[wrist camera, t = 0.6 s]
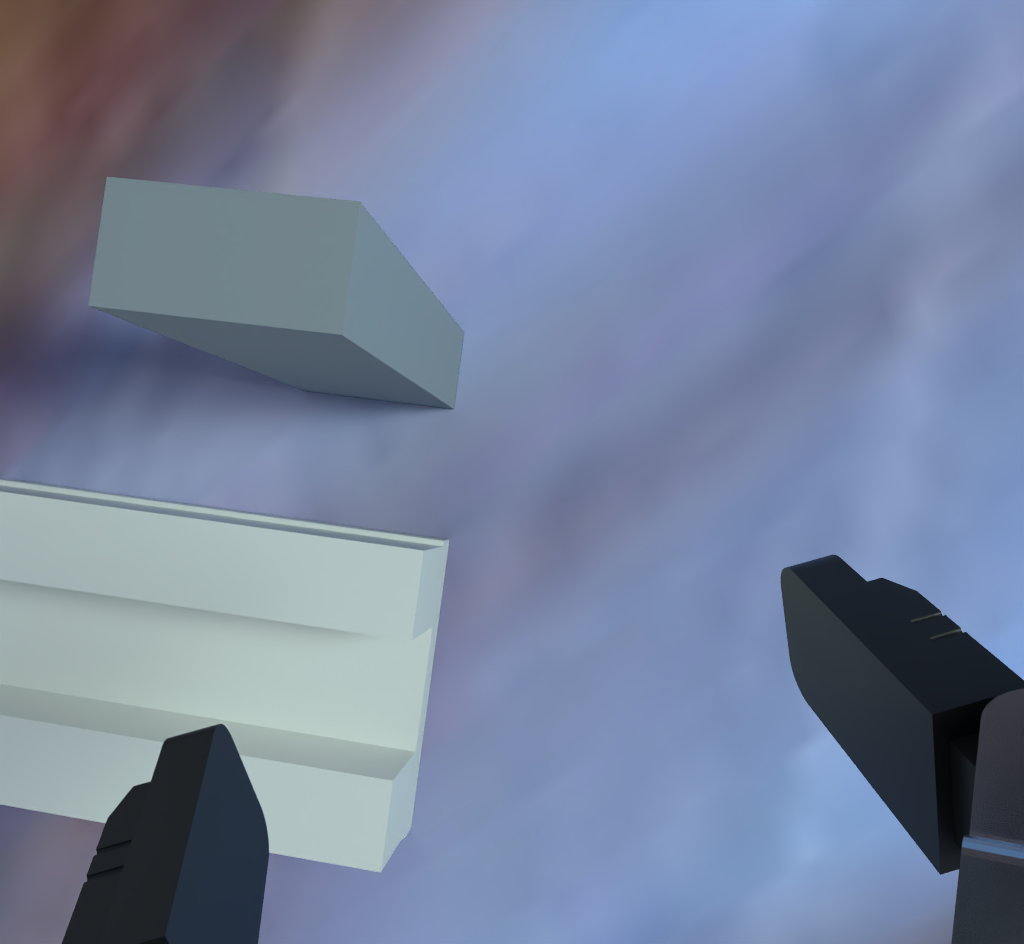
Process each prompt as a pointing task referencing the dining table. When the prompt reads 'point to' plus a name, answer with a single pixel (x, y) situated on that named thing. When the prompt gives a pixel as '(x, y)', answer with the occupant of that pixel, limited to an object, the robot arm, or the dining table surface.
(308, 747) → the rail
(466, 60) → the dining table surface
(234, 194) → the slate slat
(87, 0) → the dining table surface
